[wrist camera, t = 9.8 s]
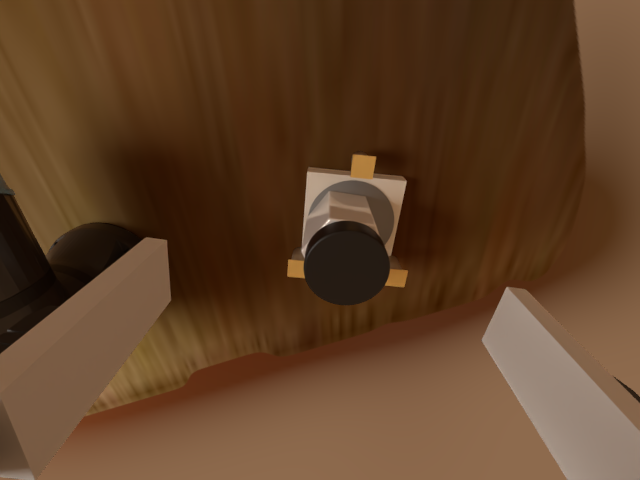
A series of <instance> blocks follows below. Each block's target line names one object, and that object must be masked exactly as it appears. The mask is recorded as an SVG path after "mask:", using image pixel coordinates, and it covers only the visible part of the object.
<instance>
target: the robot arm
mask: <svg viewBox="0 0 640 480" xmlns="http://www.w3.org/2000/svg"><path fill="white" fill-rule="evenodd" d="M14 195H15V193H14V191H13V190H12V189H10V188H9V187H8V186H7V184H6V183H5V181H4V179H3V178H2V176H1V175H0V477H5V478H15V479H24V480H36V479H37V478H38V477H39V475H40V474H41V473H42V471H43V470H44V469H45V467H46V466H47V465H48V463H49V462H50V461H51V459H52V458H53V457H54V455H55V454H56V453H57V451H58V450H59V449H60V447H61V446H62V445H63V443H64V442H65V440H66V439H67V438H68V437H69V435H70V434H71V433H72V431H73V430H74V429H75V427H76V426H77V425H78V423H79V422H80V421H81V419H82V418H83V417H84V415H85V414H86V413H87V412H88V410H89V409H90V408H91V406H92V405H93V404H94V402H95V401H96V400H97V398H98V397H99V396H100V394H101V393H102V392H103V390H104V389H105V388H106V386H107V385H108V384H109V382H110V381H111V380H112V378H113V377H114V376H115V374H116V373H117V372H118V370H119V369H120V368H121V366H122V365H123V364H124V362H125V361H126V360H127V358H128V357H129V356H130V354H131V353H132V352H133V350H134V349H135V348H136V346H137V345H138V344H139V342H140V341H141V340H142V338H143V337H144V336H145V334H146V333H147V332H148V330H149V329H150V328H151V326H152V325H153V324H154V322H155V321H156V320H157V318H158V317H159V316H160V314H161V313H162V312H163V310H164V309H165V308H166V306H167V305H168V304H169V302H170V301H171V291H170V277H169V263H168V248H167V240H163V239H156V238H149V237H146V238H144V239H143V240H141V239H140V238H138V237H137V236H136V235H134V234H132V233H131V232H129V231H127V230H125V229H123V228H120V227H117V226H114V225H110V224H104V223H89V224H84V225H81V226H78V227H76V228H74V229H72V230H70V231H69V232H67V233H65V234H63V235H62V236H60V237H59V238H58V239H57V240H56V241H55V242H54V244H53V245H52V246H51V248H50V250H49V252H48V253H47V255H46V256H45V255H44V253H43V251H42V249H41V247H40V245H39V243H38V242H37V240H36V238H35V236H34V234H33V232H32V230H31V228H30V226H29V224H28V222H27V220H26V219H25V217H24V215H23V213H22V211H21V209H20V207H19V205H18V203H17V201H16V199H15V197H14ZM482 342H483V344H484V346H485V347H486V349H487V350H488V352H489V354H490V355H491V357H492V358H493V360H494V362H495V363H496V365H497V366H498V368H499V370H500V371H501V373H502V374H503V376H504V378H505V379H506V381H507V383H508V384H509V386H510V388H511V389H512V391H513V392H514V394H515V396H516V397H517V399H518V400H519V402H520V404H521V405H522V407H523V409H524V410H525V412H526V414H527V415H528V417H529V418H530V420H531V422H532V423H533V425H534V426H535V428H536V430H537V431H538V433H539V435H540V436H541V438H542V439H543V441H544V443H545V444H546V446H547V447H548V449H549V451H550V452H551V454H552V456H553V457H554V459H555V460H556V462H557V464H558V465H559V467H560V468H561V470H562V472H563V473H564V475H565V476H566V478H567V480H640V397H639V396H638V395H637V394H636V393H635V392H634V391H633V390H631V389H630V388H628V387H627V386H626V385H624V384H623V383H622V382H621V381H619V380H618V379H616V378H615V377H613V376H612V375H611V374H610V373H609V372H608V371H607V370H606V369H605V368H604V367H603V366H602V365H601V364H600V363H599V362H598V361H597V360H596V359H595V358H594V357H593V356H592V355H591V354H590V353H589V352H588V351H587V350H586V349H585V348H584V347H583V346H582V345H581V344H580V343H579V342H578V341H577V340H576V339H575V338H574V337H573V336H572V335H571V334H570V333H569V332H568V331H567V330H566V329H565V328H564V327H563V326H562V325H561V324H560V323H559V322H558V321H557V320H556V319H555V318H554V317H553V316H552V315H551V314H550V313H549V312H548V311H547V310H546V309H545V308H544V307H543V306H542V305H541V304H540V303H539V302H538V301H537V300H536V299H535V298H534V297H533V296H532V295H531V294H530V293H529V292H528V291H527V290H526V289H519V288H512V287H507V288H506V290H505V292H504V294H503V296H502V298H501V300H500V302H499V304H498V306H497V309H496V311H495V313H494V315H493V317H492V320H491V321H490V323H489V326H488V328H487V330H486V332H485V334H484V336H483V338H482Z"/></svg>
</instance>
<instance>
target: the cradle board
mask: <svg viewBox="0 0 640 480" xmlns="http://www.w3.org/2000/svg"><path fill="white" fill-rule="evenodd" d="M375 161H376V156H367V154H366V153H365V152H363V151H357V152H355V153H354V154H353V155H352V157H351V163H352V167H351V171H344V170H333V169H323V168H313V167H308V171H307V183H306V196H305V210H304V223H303V237H302V243H303V238H304V232H305V226H306V220H307V217H308V216H309V214H310V213H311V212H312V211H313V210H314V208H315V207H316V206H317V205H318V204H319V202H320V201H321V200H322V199H323V198H324V196H325V195H326V194H327V193H328V192H329V191H334V192H340V193H347V194H354V195H361V196H365V197H366V198H367V201H368V204H369V206H370V209H371V212H372V215H373V218H374V221H375V223H376V226H377V229H378V232H379V235H380V237H381V239H382V241H383V243H384V245H385V248H386V251H387V254H388V256H389V260H390V273H389V277H388V280H387V282H386V284H385V286H396V287H404V286H405V282H406V278H407V274H408V270H402V268H401V266H400V264H399V261H398V259H397V258H396V257H395V256H391V254H392V249H393V244H394V239H395V235H396V230H397V225H398V220H399V216H400V211H401V206H402V202H403V197H404V192H405V187H406V183H407V181H406V180H405V179H404V177H403V176H396V175H385V174H375V173H374V167H375ZM301 249H302V247H297V248H295V249H294V251H293V254H292V259H291V260H290V259H288V274H287V277H297V278H305V276H304V268H303V267H304V259H305V258H304V256H303V254H302V252H301Z"/></svg>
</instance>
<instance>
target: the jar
mask: <svg viewBox="0 0 640 480" xmlns="http://www.w3.org/2000/svg"><path fill="white" fill-rule="evenodd" d="M301 252H302V254H303V256H304V258H305V259H304V267H303V268H304V276H305V279H306V282H307V284H308V286H309V287H310V289H311V290H312V291H313V292H314V293H315V294H316V295H317V296H318V297H320V298H321V299H323V300H325V301H327V302H330V303H333V304H338V305H354V304H359V303H362V302H365V301H367V300H369V299H371V298H372V297H374V296H375V295H376V294H378V293H379V292H380V291H381V289H382V288H383V287H384V285H385V284H386V282H387V280H388V277H389V273H390V260H389V256H388V254H387V251H386V248H385V245H384V243H383V241H382V239H381V237H380V235H379V232H378V229H377V226H376V223H375V221H374V218H373V215H372V212H371V209H370V206H369V204H368V201H367V198H366V197H365V196H361V195H354V194H347V193H340V192H334V191H329V192H328V193H327V194H326V195H325V196H324V198H323V199H322V200H321V201H320V202H319V204H318V205H317V206H316V207H315V208H314V210H313V211H312V212H311V213H310V214H309V216H308V217H307V220H306V226H305V232H304V238H303V243H302V249H301Z"/></svg>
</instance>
